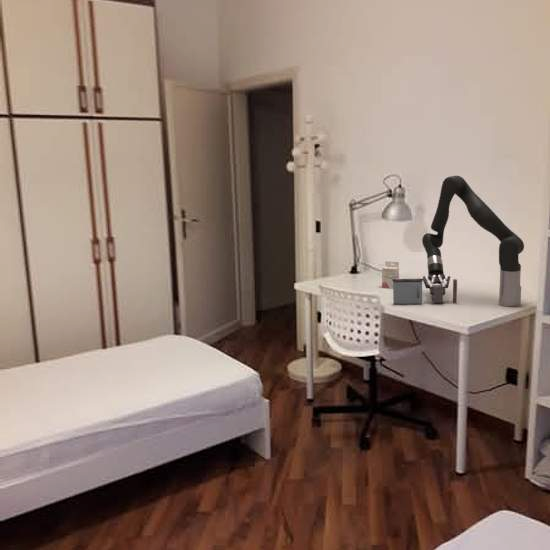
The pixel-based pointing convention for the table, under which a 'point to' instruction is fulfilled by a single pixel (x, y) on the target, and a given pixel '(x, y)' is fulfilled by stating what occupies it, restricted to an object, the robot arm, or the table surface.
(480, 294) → the table surface
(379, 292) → the table surface
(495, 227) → the robot arm
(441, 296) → the block
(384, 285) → the ink cartridge box
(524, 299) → the table surface
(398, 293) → the grey block
